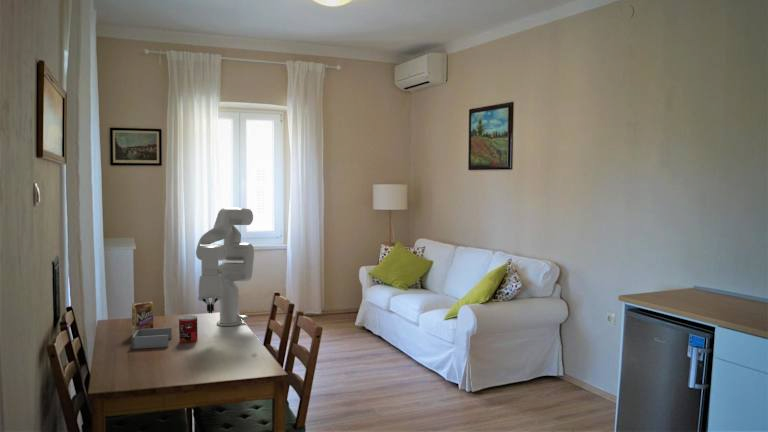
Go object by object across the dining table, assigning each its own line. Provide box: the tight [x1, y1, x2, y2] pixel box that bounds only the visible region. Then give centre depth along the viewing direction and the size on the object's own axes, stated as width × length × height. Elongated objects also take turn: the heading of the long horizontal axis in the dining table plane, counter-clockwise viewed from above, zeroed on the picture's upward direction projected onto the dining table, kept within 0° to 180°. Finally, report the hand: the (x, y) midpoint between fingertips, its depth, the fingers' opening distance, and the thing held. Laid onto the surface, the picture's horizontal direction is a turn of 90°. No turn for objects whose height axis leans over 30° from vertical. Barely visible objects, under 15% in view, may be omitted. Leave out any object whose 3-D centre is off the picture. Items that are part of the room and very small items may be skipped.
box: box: [131, 327, 173, 350], centre depth 265 cm, size 15×15×5 cm
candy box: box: [131, 301, 154, 336], centre depth 281 cm, size 9×4×15 cm, turn 134°
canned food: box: [178, 315, 198, 344], centre depth 269 cm, size 8×8×11 cm
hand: (210, 312), depth 270 cm, fingers closed
